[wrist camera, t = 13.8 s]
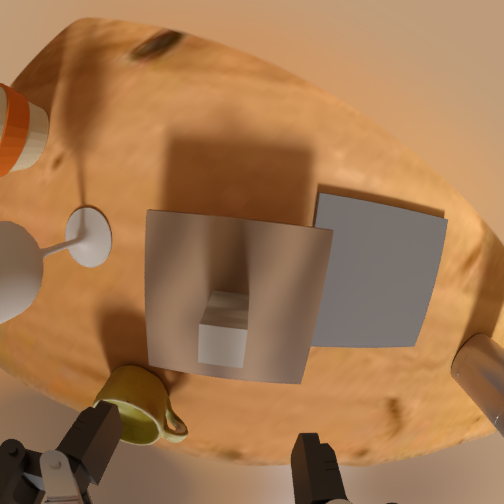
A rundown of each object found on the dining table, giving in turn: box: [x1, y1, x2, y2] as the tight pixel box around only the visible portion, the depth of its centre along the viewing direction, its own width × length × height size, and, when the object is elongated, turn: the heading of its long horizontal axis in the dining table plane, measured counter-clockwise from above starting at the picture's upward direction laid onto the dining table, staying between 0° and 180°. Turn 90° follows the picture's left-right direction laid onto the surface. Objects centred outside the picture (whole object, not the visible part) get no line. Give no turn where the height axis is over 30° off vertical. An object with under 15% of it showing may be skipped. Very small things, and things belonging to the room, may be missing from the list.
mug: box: [93, 365, 188, 445], centre depth 29 cm, size 12×10×10 cm
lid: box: [145, 209, 334, 384], centre depth 20 cm, size 15×15×7 cm
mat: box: [311, 193, 448, 348], centre depth 29 cm, size 17×17×1 cm
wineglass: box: [0, 207, 112, 324], centre depth 18 cm, size 8×8×21 cm
